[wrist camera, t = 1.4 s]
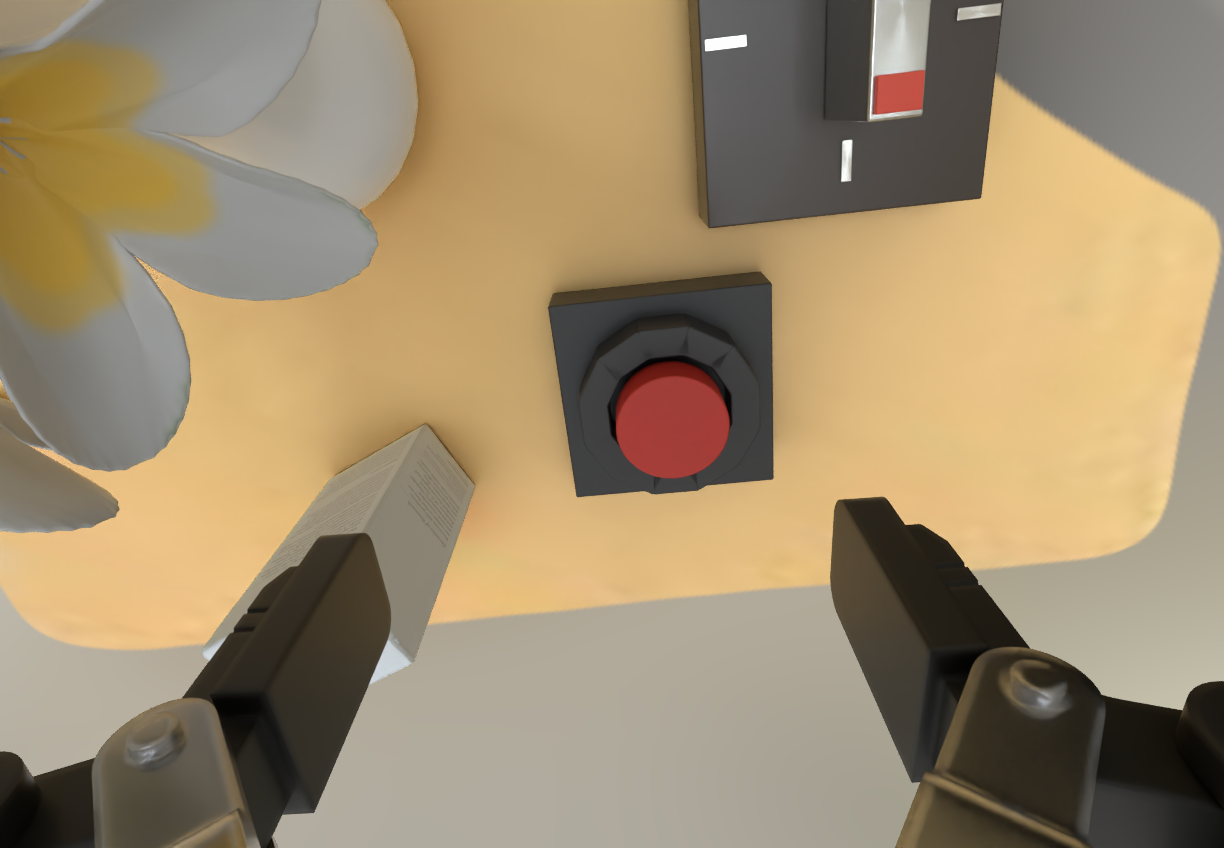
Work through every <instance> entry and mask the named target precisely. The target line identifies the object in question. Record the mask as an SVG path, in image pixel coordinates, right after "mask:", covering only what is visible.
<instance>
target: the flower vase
mask: <svg viewBox="0 0 1224 848" xmlns="http://www.w3.org/2000/svg"><path fill="white" fill-rule="evenodd" d="M417 111H418V96H417V86H416V76H415V66H414V63H413V60H412V57H411V54H410V51H409V48H408V45H407V42H406V39H405V36H404V33H403V30H402V27H401V25H400V23H399V21H398V20H397V18H396V16H395V15H394V13H393V12H392V10H391V8H390V7H389V5H388V3H387V2H386V0H0V379H1V381H2V384H3V386H4V389H5V391H6V393H7V395H8V396H9V398H10V399H11V400H12V402H11V401H8V400H5V399H3V398H0V531H7V532H15V533H25V532H43V533H49V532H54V531H73V530H76V529H79V528H91V527H93V526H95V525H96V524H98V523H100V522H102V521H105V520H107V519H110V518H114V517H116V514H117V512H118V511H119V507H118V501H117V500H116V499H115V498H114V497H113V496H112V495H111V493H109V492H108V491H107V490H105V489H104V488H102V487H100V486H99V485H97V484H96V483H94V482H92V481H91V480H89V479H87V478H85V477H83V476H82V475H80V474H78V473H76V472H75V471H73V470H71V469H69V468H67V467H66V466H64V465H62V464H60V463H58V462H57V461H55V460H53V459H51V458H50V457H48V456H46V455H44V454H42V453H41V452H39V451H37V450H35V449H34V448H32V447H30V446H33V447H38V448H42V449H46V450H53V451H54V452H55V453H57V454H58V455H61V456H63V457H65V458H66V459H68V460H69V461H71V462H72V463H74V464H77V465H81V466H84V467H87V468H89V469H92V470H103V471H108V472H111V471H115V470H127V469H129V468H130V467H132V466H134V465H137V464H139V463H141V462H143V461H146V460H148V459H152V458H154V457H155V456H156V455H157V453H158V452H159V451H161V450H162V449H164V448H165V447H166V446H167V444H168V442H169V441H170V440H171V438H172V437H173V436H174V435H175V434H176V432H177V430H178V427H179V425H180V424H181V422H182V420H183V418H184V415H185V411H186V408H187V405H188V402H189V394H190V386H191V373H190V357H189V354H188V350H187V346H186V342H185V337H184V333H183V331H182V329H181V326H180V324H179V322H178V320H177V317H176V315H175V312H174V310H173V308H172V306H171V304H170V303H169V301H168V300H167V298H166V297H165V296H164V294H163V293H162V292H161V290H160V289H159V287H158V286H157V284H156V283H155V282H154V280H153V279H152V277H151V276H150V274H149V273H148V272H147V270H146V269H145V268H144V267H143V266H142V265H141V264H140V262H139V261H138V260H137V259H136V258H135V257H134V256H136V257H137V258H139V259H140V260H142V261H143V262H145V263H146V264H148V265H149V266H151V267H152V268H154V269H155V270H157V271H159V272H161V273H163V274H164V275H166V276H168V277H170V278H172V279H173V280H175V281H177V282H179V283H180V284H182V285H184V286H186V287H188V288H190V289H192V290H195V291H199V292H203V293H207V294H211V295H215V296H219V297H223V298H231V299H243V300H253V301H264V300H285V299H291V298H296V297H304V296H309V295H312V294H315V293H318V292H322V291H326V290H329V289H331V288H333V287H335V286H337V285H340V284H343V283H345V282H347V281H348V280H349V279H351V278H352V277H354V276H357V275H359V274H360V272H361V271H362V270H363V269H364V268H365V267H367V266H369V264H370V261H371V258H372V256H373V254H374V251H375V249H376V248H377V246H378V241H377V233H376V231H375V229H374V228H373V225H372V223H371V221H370V220H369V219H368V218H367V217H366V216H365V215H364V214H363V213H362V211H361V209H362V208H364V207H366V206H367V205H369V204H370V203H372V202H373V201H375V200H376V199H378V198H379V197H380V196H381V195H382V194H383V193H384V191H385V190H386V189H387V188H388V186H389V185H390V184H391V183H392V182H393V180H394V179H395V178H396V177H397V176H398V174H399V173H400V171H401V169H402V167H403V164H404V162H405V160H406V157H407V155H408V153H409V150H410V148H411V146H412V143H413V140H414V133H415V126H416V118H417ZM133 255H134V256H133ZM28 445H30V446H28Z"/></svg>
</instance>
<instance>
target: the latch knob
mask: <svg viewBox="0 0 1224 848" xmlns="http://www.w3.org/2000/svg"><path fill="white" fill-rule="evenodd" d="M930 11H931V0H827V48H826V95H825V119H826V120H827V121H850V122H877V121H886V120H894V119H903V118H912V117H920V116H921V115H922V114H923V103H924V90H925V77H926V64H927V50H928V37H929V24H930Z"/></svg>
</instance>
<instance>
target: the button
mask: <svg viewBox="0 0 1224 848" xmlns="http://www.w3.org/2000/svg"><path fill="white" fill-rule="evenodd" d="M729 429H730V421H729V415H728V411H727V408H726V405H725V403H724V400H723V397H722V395H721V392H720V390H719V388H718V386H717V384H716V383H715V381H714V380H713V379H712V378H711V377H710V376H709V375H708V374H707V373H706V372H704V371H703V370H701V369H700V368H698V367H696V366H694V365H691V364H688V363H684V362H679V361H665V362H658V363H655V364H652V365H649V366H647V367H645V368H643V369H641V370H640V371H638V372H637V373H636V374H634V375H633V376H632V377H631V378H630V379H629V380H628V381H627V382H626V384H625V385H624V387H623V388H622V390H621V392H620V394H619V397H618V400H617V405H616V435H617V441H618V443H619V446H620V448H621V450H622V452H623V454H624V455H625V457H626V458H627V459H628V460H629V461H630V462H631V463H632V464H633V465H634V466H635V467H636V468H638V469H640V470H641V471H643V472H645V473H647V474H649V475H653V476H656V477H661V478H681V477H686V476H690V475H693V474H695V473H698V472H699V471H701V470H703V469H705V468H706V467H708V466H709V465H710V464H711V463H712V462H713V461H715V459H716V458H717V457H718V456H719V455H720V453H721V452H722V450H723V448H724V446H725V444H726V442H727V439H728V435H729Z"/></svg>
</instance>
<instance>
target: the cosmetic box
mask: <svg viewBox="0 0 1224 848" xmlns="http://www.w3.org/2000/svg"><path fill="white" fill-rule="evenodd" d="M474 490H475V487H474V484H473V482H472V481H471V480H470V479H469V478H468V476H467V475H466V474H465V473H464V471H463V470H462V469H461V468H460V466H459V465H458V464H457V462H456V461H455V460H454V459H453V457H452V456H451V455H450V454H449V452H448V451H447V450H446V449H445V447H444V446H443V445H442V443H441V442H440V441H439V439H438V438H437V437H436V435H435V434H434V433H433V432H432V430H431V429H430V428H429V426H428V425H426V424H424V425H422V426H421V427H419V428H417V429H415V430H414V431H412V432H410V433H408V434H407V435H405V436H403V437H401V438H400V439H398V440H396V441H394V442H393V443H391V444H389V445H388V446H386V447H384V448H382V449H380V450H379V451H377V452H375V453H374V454H372V455H370V456H369V457H367V458H365V459H363V460H362V461H360V462H358V463H356V464H355V465H353V466H351V467H350V468H348V469H346V470H344V471H343V472H341V473H339V474H338V475H336V476H334V477H332V478H331V479H330V480H329V481H328V482H327V484H326V485H325V486H324V488H323V489H322V490H321V492H320V493H319V494H318V496H317V497H316V499H315V500H314V501H313V502H312V504H311V505H310V506H309V508H308V509H307V510H306V512H305V513H304V514H303V516H302V517H301V518H300V520H299V521H298V522H297V524H296V525H295V526H294V528H293V529H292V531H291V532H290V533H289V534H288V536H287V537H286V539H285V540H284V541H283V543H282V544H281V545H280V546H279V548H278V549H277V550H276V552H275V553H274V554H273V556H272V557H271V559H270V560H269V561H268V562H267V564H266V565H265V566H264V567H263V569H262V570H261V572H260V573H259V574H258V576H257V577H256V578H255V579H254V581H253V582H252V584H251V585H250V586H249V588H248V589H247V590H246V592H245V593H244V594H243V596H242V597H241V598H240V600H239V601H238V602H237V603H236V605H235V606H234V607H233V608H232V610H231V611H230V612H229V614H228V615H227V616H226V617H225V619H224V620H223V622H222V623H221V624H220V626H219V627H218V628H217V630H216V631H215V632H214V634H213V635H212V637H211V638H210V640H209V641H208V642H207V644H206V645H205V646H204V648H203V649H202V651H201V654H202V655H203V656H204V657H205V658H206V659H207V660H208V661H210V659H211V658H212V657H213V655H214V654H215V653H216V651H217V650H218V649H219V647H220V646H221V645H222V643H223V642H224V640H225V639H226V638H227V636H228V635H229V634H230V633H233V632H234V627H235V625H236V624H237V623H238V621H239V620H240V619H241V617H242V616H243V615H244V614H247V612H248V611H247V609H248V608H249V606H250V605H251V604H252V602H253V601H254V600H255V598H256V597H257V595H258V594H259V593H260V591H261V590H262V589H263V587H264V586H266V585H267V584H268V583H270V582H271V581H272V580H273V579H275V578H276V577H277V576H279V575H280V574H281V573H282V572H284V571H285V570H286V569H288V568H289V567H293V566H299V564H300V563H301V561H302V560H303V558H304V557H305V555H306V554H307V553H308V551H309V550H310V548H311V547H312V545H313V544H314V542H315V541H316V540H317V539H318V538H319V537H320V536H323V535H337V534H351V533H366V534H368V535H369V536H370V538H371V540H372V542H373V545H374V549H375V552H376V556H377V559H378V563H379V566H380V570H381V574H382V577H383V581H384V584H385V588H386V591H387V595H388V598H389V602H390V608H391V628H390V634H389V638H388V641H387V643H386V646H385V648H384V650H383V653H382V655H381V657H380V660H379V662H378V664H377V667H376V669H375V671H374V674H373V676H372V678H371V681H370V683H369V685H370V684H372V683H374V682H376V681H378V680H380V679H382V678H384V677H386V676H388V675H390V674H392V673H394V672H396V671H398V670H400V669H403V668H405V667H407V666H409V665H411V664H413V662H414V661H415V658H416V654H417V652H418V649H419V646H420V643H421V641H422V638H423V635H424V632H425V629H426V626H427V623H428V621H429V618H430V615H431V612H432V609H433V606H434V604H435V601H436V598H437V595H438V592H439V589H440V587H441V584H442V581H443V578H444V575H445V572H446V569H447V567H448V564H449V561H450V558H451V555H452V552H453V550H454V547H455V544H456V541H457V538H458V535H459V532H460V529H461V527H462V524H463V521H464V518H465V515H466V513H467V510H468V507H469V504H470V501H471V498H472V495H473V492H474Z"/></svg>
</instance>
